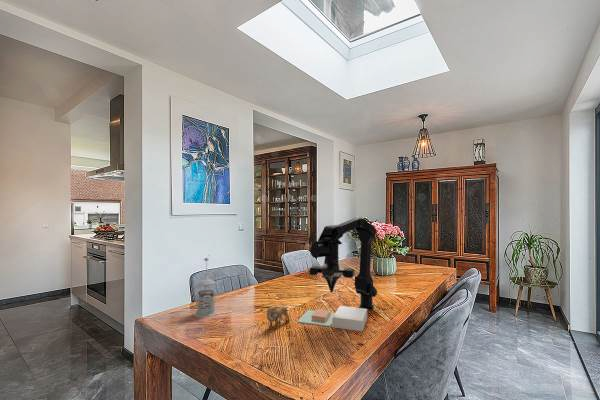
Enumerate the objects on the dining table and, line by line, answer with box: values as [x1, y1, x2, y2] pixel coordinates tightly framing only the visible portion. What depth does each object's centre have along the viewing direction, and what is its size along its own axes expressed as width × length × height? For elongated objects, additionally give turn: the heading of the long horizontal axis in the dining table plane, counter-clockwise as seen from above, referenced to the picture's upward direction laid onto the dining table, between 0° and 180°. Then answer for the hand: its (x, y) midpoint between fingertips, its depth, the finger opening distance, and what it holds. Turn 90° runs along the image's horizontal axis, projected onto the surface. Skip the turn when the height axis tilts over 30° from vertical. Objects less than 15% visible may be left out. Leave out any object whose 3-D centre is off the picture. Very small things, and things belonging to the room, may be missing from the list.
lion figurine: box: [266, 306, 290, 330], centre depth 123 cm, size 15×5×9 cm, turn 155°
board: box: [331, 305, 368, 332], centre depth 126 cm, size 15×12×4 cm
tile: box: [312, 308, 332, 322], centre depth 131 cm, size 9×6×2 cm, turn 160°
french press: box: [190, 257, 218, 319], centre depth 136 cm, size 10×12×25 cm
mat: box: [296, 309, 336, 328], centre depth 131 cm, size 15×14×1 cm
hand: (331, 291), depth 130 cm, fingers closed
